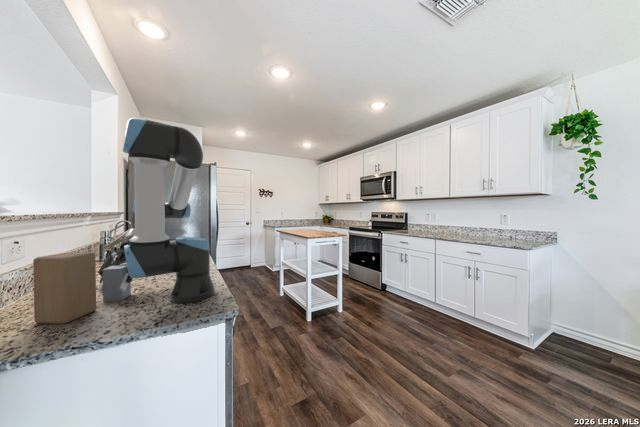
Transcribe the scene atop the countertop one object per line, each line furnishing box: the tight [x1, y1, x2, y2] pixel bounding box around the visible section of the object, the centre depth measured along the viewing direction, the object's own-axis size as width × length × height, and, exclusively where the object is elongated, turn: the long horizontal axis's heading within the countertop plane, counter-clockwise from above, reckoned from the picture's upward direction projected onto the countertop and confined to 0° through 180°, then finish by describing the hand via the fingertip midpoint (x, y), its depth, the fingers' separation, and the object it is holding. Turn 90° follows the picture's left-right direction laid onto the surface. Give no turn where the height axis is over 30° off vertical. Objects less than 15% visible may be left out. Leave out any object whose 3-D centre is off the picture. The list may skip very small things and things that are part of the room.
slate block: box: [102, 264, 132, 302], centre depth 90 cm, size 6×6×12 cm
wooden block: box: [32, 251, 97, 324], centre depth 74 cm, size 10×10×20 cm
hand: (111, 290), depth 87 cm, fingers closed on slate block, 6 cm apart
